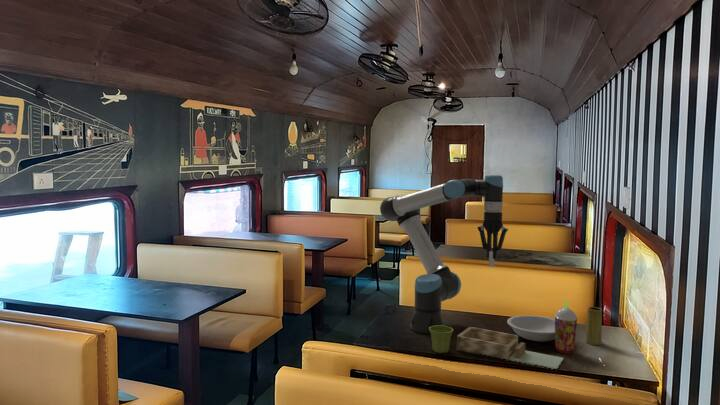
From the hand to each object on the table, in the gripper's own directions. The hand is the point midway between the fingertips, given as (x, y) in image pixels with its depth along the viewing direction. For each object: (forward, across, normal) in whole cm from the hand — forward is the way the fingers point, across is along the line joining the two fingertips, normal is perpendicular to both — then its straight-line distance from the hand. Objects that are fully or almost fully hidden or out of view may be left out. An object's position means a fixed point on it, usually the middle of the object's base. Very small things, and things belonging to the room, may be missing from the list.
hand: (491, 265), depth 223 cm
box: (+29, +6, -21) cm, 36 cm away
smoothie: (+29, +32, -6) cm, 44 cm away
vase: (+29, +40, +12) cm, 51 cm away
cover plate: (+30, +25, -21) cm, 44 cm away
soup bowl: (+30, +19, +3) cm, 35 cm away
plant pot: (+30, -9, -32) cm, 44 cm away
